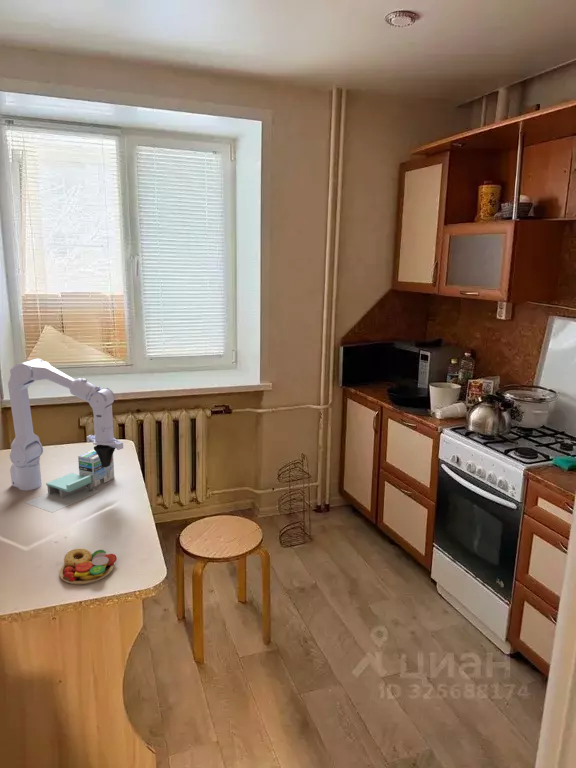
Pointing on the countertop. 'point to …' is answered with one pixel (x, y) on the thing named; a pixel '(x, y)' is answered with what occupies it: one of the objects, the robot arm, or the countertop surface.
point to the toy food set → (86, 566)
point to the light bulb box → (95, 467)
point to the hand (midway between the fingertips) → (106, 466)
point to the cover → (71, 482)
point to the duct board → (61, 498)
